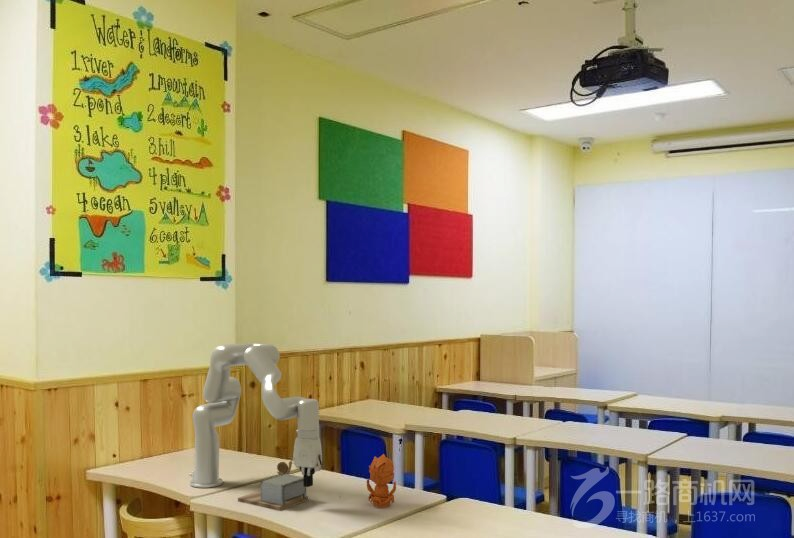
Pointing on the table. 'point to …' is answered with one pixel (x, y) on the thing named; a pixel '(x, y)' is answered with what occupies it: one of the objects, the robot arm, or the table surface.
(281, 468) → the snail figurine
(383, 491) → the orange figurine
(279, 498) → the block
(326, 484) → the table surface
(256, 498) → the board
